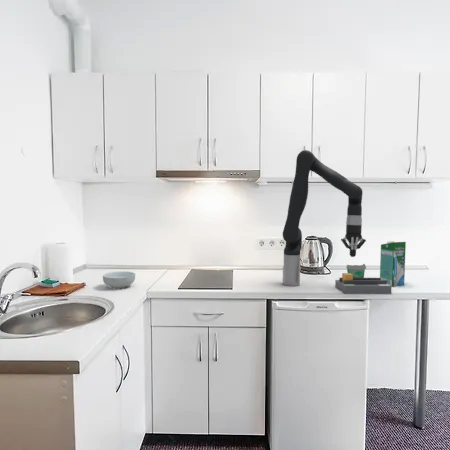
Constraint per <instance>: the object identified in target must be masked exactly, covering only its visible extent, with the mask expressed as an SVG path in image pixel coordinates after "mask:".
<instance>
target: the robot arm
mask: <svg viewBox="0 0 450 450" xmlns="http://www.w3.org/2000/svg"><path fill="white" fill-rule="evenodd" d="M295 162H296V164H295V172H294V173H295V174H294V178H293V183H292V187H291V191H290V195H289V202H288V203H289V204H288V209H287V216H286V220H285V224H284V227H283V231H282V238H283V241H284V242H285V246H284V249H283V266H282V284H283V285H284V286H288V287H289V286H290V287H296V286H300V285H301V284H300V283H301V251H302V243H303V242H302V239H303V233H302V230H301V228H300V221H301V218H302V215H303V213H304V210H305V208H306V206H307V201H308V195H309V177H310V172H312V173H315V174H316V175H318V176H319V177H320V178H322V179H323V180H324V181H325V182H327V183H328V184H329V185H331V186H333V187H334V188H335V189H338V191H341V192H342V193H343V194H345V195H346V196H347V198H348V199H347V200H348V204H347V210H346V211H347V212H346V221H345V224H346V225H345V228H346V229H345V236H344V237H343V238H341V239H340V241H341V243H342V244H343V245H344V246H345V248H346V249H349V256H350V257H351V258H355V257H356V255H357V250H359V249H361V247H362V246H364V244H365V242H366V241H367V240H366V239H365V238H363V236H362V225H363V223H362V222H363V218H362V215H363V213H362V212H363V211H362V209H363V208H362V203H363V202H362V200H363V189H362V187H361V186H359V185H357V184H356V183H354V182H352V181H350V180H349V179H348V178H347V177H345V176H344V175H342V174H340V172H337V171H336V170H334V169H332V168H330V167H329V166H327V165H326V164H324V163H323V162H321V161H320V160H319V159H318V158H317V157H316V156H315V154H314V153H312V151H310V150H307V149H304V150H301V151H299V153H298V154H297V157H296V161H295Z"/></svg>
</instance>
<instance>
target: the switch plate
mask: <svg viewBox="0 0 450 450" xmlns="http://www.w3.org/2000/svg"><path fill="white" fill-rule="evenodd" d="M334 283H335V285H334V287H335V288H336V289H337V290H338V291H340V292H341V291H342V293H343V294H346V295H349V294H350V295H351V294H352V295H353V294H354V295H358V294H359V295H379V294H380V295H391V294H392V286H390V285H388V284H387V281H386V280H381V278H380V277H364V278H353V280H344V282H343V281H342V277H339V279H335V282H334Z"/></svg>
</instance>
